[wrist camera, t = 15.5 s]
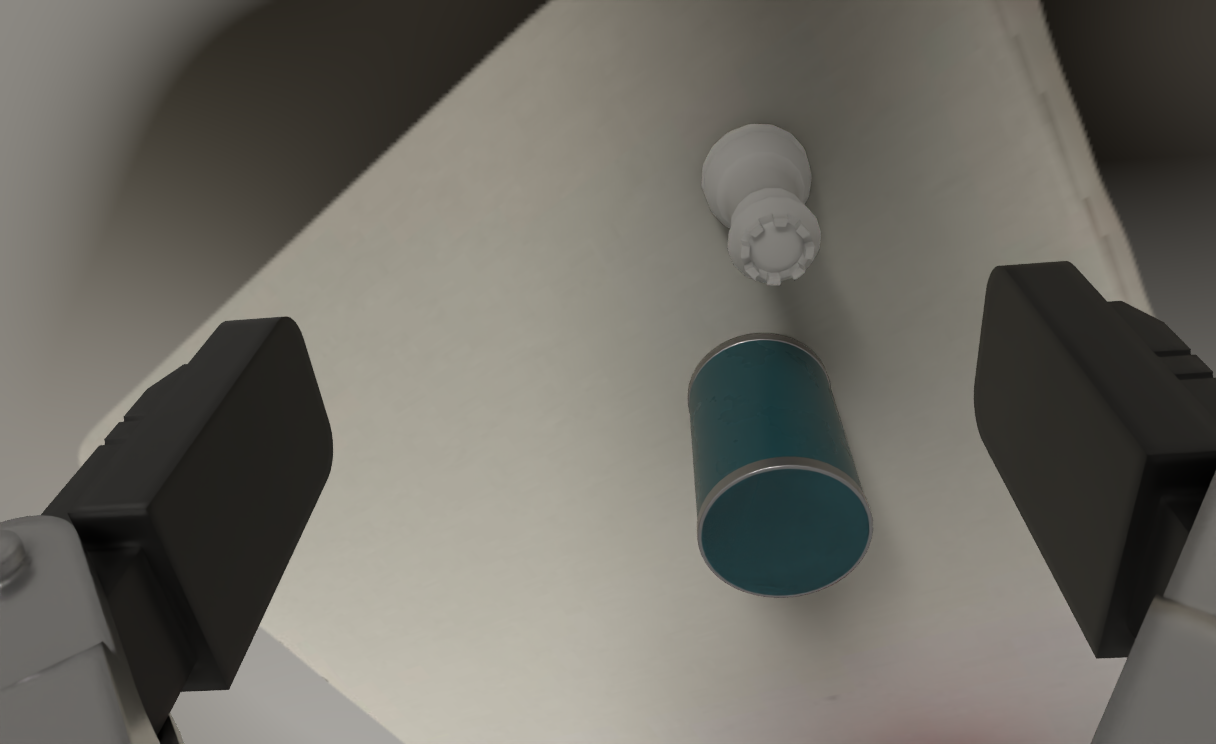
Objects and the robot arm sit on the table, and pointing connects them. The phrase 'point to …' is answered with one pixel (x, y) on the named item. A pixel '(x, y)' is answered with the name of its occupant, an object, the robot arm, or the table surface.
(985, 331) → the robot arm
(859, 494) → the tin can
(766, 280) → the rook chess piece
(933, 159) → the table surface
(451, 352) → the table surface
